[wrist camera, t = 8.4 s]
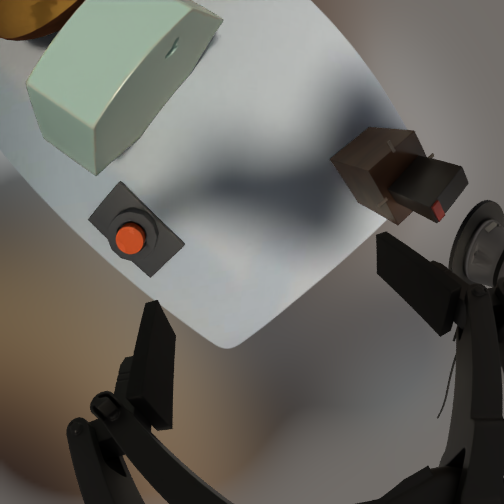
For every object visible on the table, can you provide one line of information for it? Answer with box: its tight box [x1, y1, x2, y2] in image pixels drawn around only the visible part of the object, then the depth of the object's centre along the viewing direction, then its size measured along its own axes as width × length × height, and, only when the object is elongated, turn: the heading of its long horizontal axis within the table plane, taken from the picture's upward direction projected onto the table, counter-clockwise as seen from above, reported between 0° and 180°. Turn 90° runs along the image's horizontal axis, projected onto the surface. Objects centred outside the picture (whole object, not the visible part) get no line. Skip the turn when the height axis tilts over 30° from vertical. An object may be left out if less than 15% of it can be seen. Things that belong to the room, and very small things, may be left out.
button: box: [116, 223, 145, 254], centre depth 33 cm, size 4×4×2 cm
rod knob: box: [388, 155, 468, 223], centre depth 24 cm, size 6×2×7 cm, turn 135°
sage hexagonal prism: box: [26, 0, 223, 176], centre depth 20 cm, size 17×8×21 cm
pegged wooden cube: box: [330, 127, 434, 225], centre depth 32 cm, size 10×10×10 cm
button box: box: [88, 181, 185, 278], centre depth 34 cm, size 12×7×2 cm, turn 40°
